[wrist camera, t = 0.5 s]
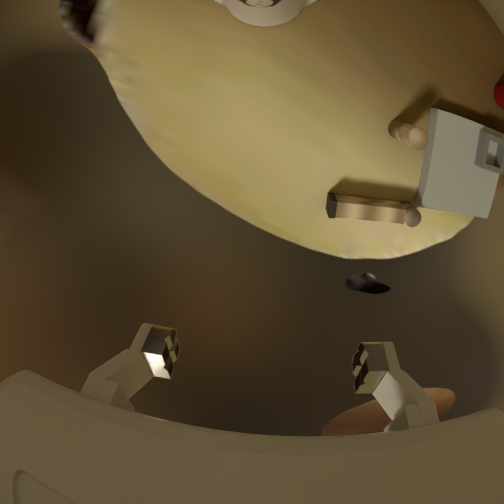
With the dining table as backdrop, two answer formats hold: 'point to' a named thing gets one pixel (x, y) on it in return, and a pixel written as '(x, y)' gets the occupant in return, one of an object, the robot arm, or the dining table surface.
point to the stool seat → (460, 165)
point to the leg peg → (409, 134)
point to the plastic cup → (499, 94)
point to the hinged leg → (372, 209)
